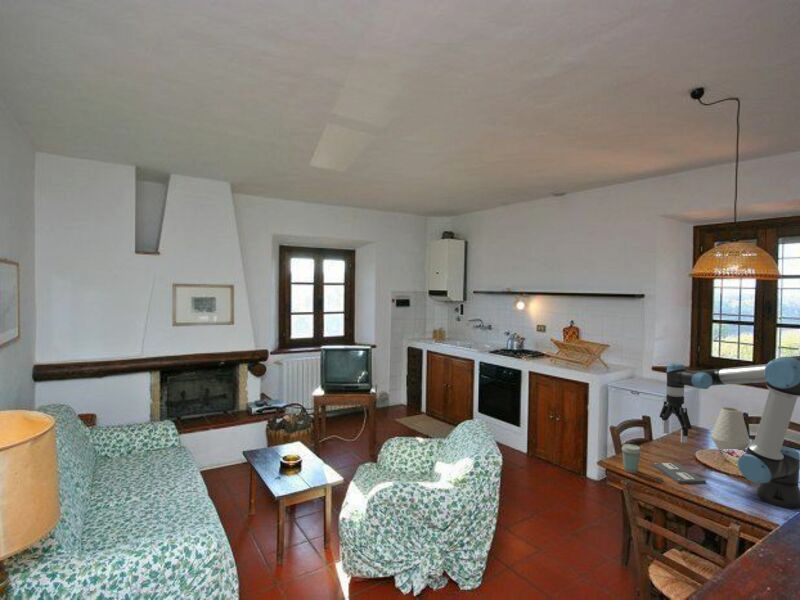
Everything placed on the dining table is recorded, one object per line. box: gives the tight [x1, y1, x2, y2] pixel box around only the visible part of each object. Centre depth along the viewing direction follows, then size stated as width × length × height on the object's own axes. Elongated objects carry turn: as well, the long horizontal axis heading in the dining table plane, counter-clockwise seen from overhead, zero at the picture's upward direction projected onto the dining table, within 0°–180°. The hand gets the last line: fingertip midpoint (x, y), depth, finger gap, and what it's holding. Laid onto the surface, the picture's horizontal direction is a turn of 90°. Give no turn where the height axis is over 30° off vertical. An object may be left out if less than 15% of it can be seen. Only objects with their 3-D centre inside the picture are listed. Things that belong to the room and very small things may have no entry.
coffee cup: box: [621, 443, 642, 474], centre depth 218 cm, size 8×9×12 cm
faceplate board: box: [651, 462, 706, 484], centre depth 215 cm, size 20×13×2 cm, turn 2°
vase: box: [710, 406, 751, 451], centre depth 245 cm, size 17×17×23 cm
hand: (674, 437), depth 220 cm, fingers open, 13 cm apart
